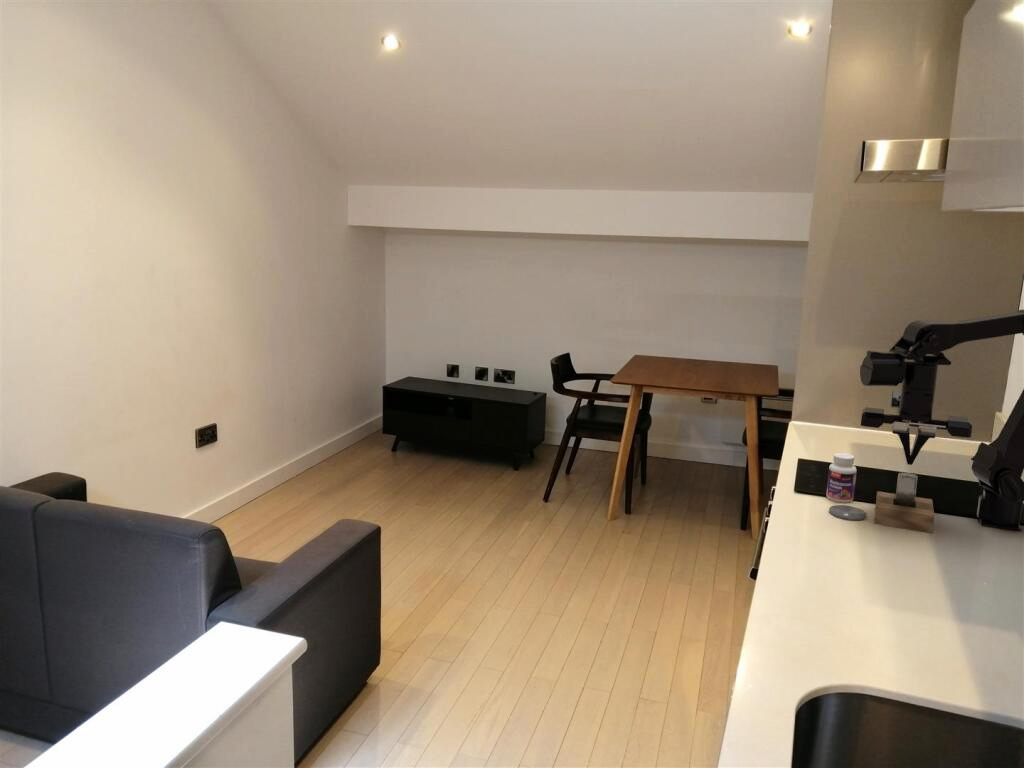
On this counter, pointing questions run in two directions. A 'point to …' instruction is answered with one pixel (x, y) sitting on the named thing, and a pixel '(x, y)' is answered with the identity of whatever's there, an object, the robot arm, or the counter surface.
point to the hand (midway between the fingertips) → (909, 464)
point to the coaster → (847, 512)
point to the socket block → (904, 513)
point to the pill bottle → (841, 478)
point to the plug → (906, 489)
